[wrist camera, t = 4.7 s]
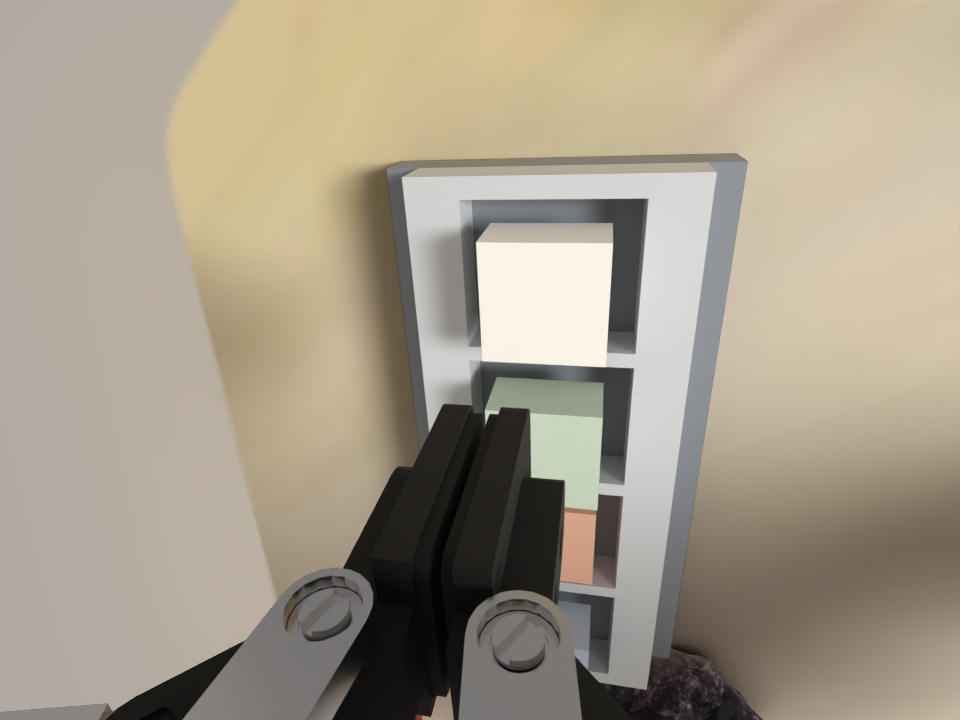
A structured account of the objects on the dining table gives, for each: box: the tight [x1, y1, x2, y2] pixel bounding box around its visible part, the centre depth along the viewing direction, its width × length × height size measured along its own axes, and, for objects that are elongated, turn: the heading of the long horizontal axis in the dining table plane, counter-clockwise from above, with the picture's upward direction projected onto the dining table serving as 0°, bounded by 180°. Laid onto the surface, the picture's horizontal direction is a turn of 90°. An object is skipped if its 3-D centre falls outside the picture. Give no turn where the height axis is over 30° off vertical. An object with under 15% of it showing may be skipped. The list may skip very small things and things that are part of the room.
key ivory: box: [476, 223, 613, 367], centre depth 19 cm, size 4×4×2 cm
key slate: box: [558, 601, 591, 670], centre depth 28 cm, size 4×4×2 cm
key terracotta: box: [560, 507, 596, 585], centre depth 27 cm, size 4×4×2 cm
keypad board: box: [386, 153, 748, 690], centre depth 27 cm, size 13×26×4 cm, turn 3°
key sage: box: [485, 377, 604, 510], centre depth 22 cm, size 4×4×2 cm
